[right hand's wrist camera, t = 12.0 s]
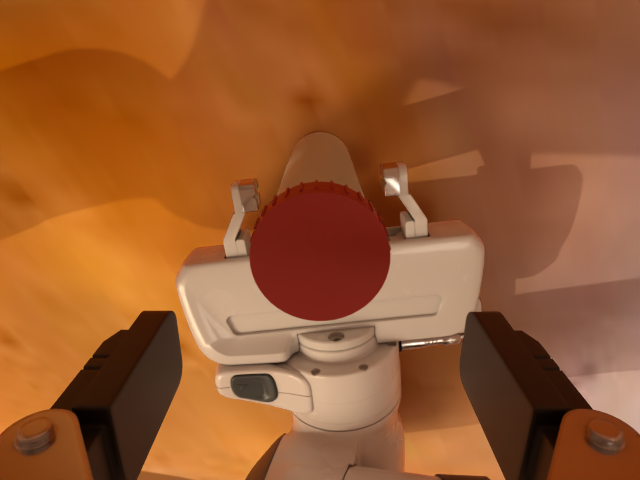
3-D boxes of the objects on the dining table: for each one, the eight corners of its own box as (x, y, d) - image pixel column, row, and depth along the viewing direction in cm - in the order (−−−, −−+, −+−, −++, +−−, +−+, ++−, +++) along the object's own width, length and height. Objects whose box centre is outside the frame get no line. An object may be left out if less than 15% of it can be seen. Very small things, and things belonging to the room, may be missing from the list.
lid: (261, 168, 17) (255, 178, 15) (400, 191, 17) (408, 203, 16) (246, 292, 19) (239, 312, 17) (371, 311, 19) (375, 332, 18)
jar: (294, 126, 33) (267, 187, 16) (355, 137, 33) (393, 208, 16) (285, 187, 34) (253, 299, 18) (344, 196, 35) (367, 316, 18)
